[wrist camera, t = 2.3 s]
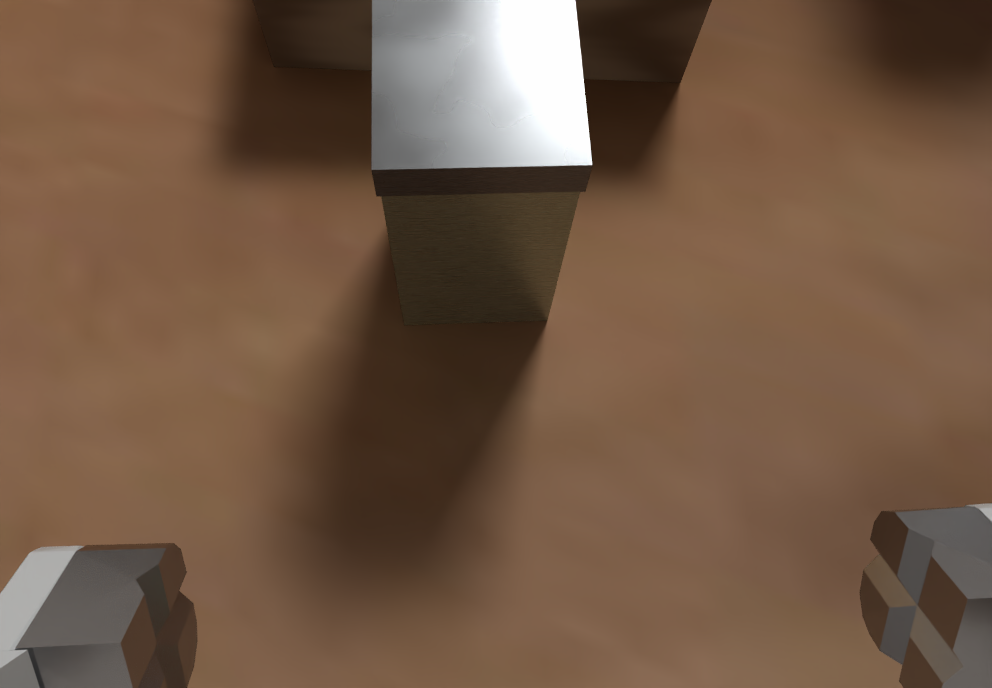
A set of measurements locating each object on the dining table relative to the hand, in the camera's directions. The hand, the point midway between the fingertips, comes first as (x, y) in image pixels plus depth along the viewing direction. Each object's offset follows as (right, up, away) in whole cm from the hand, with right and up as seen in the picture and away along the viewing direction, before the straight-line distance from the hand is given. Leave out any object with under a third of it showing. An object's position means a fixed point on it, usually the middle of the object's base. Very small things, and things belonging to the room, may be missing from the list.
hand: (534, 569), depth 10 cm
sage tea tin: (-1, +6, +20) cm, 21 cm away
